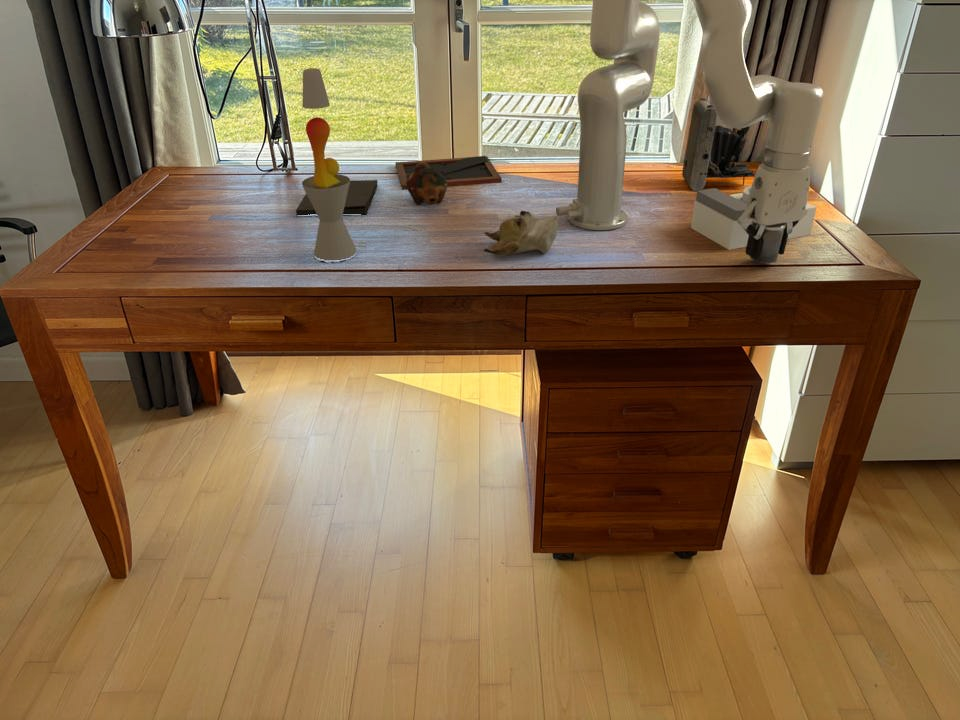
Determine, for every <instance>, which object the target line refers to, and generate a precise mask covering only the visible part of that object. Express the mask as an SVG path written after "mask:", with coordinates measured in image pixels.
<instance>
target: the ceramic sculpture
mask: <svg viewBox="0 0 960 720" xmlns="http://www.w3.org/2000/svg"><path fill="white" fill-rule="evenodd" d="M559 220H560V216H557V215H556V216H551V217H547V218H544V219H538V218H536V216H535V215H534V213H531V212H530V211H526V210H521V211H520V213H519V215H509V216H507V217H506V218H505V219H503V220H502V222H501V223H500V225H499V229H498V230H497V231H495V232H490V231H485V232H484V233H483V234H484V235H485V236H486V237H488V238H490V239H491V240H494V241H496V242H493V243H492V245H490V246H489V247H487V248H483V252H484V253H488V254H492V255H495V256H503V257H504V256H507V255H510V254H519V253H520V254H521V253H525V252H528V251H533V250H534V251H535V250H539V251H540V252H541V253H542V254H543V253H544V254H547V253H549V251H550V250H551V248H552V247H553V243H554V241H555V240H556V238H557V235H558V228H559Z"/></svg>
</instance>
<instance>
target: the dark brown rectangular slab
mask: <svg viewBox="0 0 960 720" xmlns="http://www.w3.org/2000/svg"><path fill="white" fill-rule="evenodd" d="M377 189H378V180H377V179H373V180H372V179H368V180H367V179H365V180H363V179H362V180H359V179H358V180H355V179H354V180H351V179H350V184H349V188H348V193H347V197H346V202H345V206H344V211H343V214H361V215H366V214H367V215H368V212H369V210H368V209H370V207H369V206H371V204H372V202H373V199H374V197H375V193H376V192H377ZM375 191H376V192H375ZM373 196H374V197H373ZM367 211H368V212H367ZM295 213H296V216H297V215H308V214H309V215H310V214H317V213H316V211H315V209H314V207H313V205H312V203H311V201H310V200H309V198H308V196H307V194H306V193H305V195H304V196H303V198H302V199H301V201H300V202H299V204H298V206H297V208H296V209H295ZM367 215H366V216H367Z"/></svg>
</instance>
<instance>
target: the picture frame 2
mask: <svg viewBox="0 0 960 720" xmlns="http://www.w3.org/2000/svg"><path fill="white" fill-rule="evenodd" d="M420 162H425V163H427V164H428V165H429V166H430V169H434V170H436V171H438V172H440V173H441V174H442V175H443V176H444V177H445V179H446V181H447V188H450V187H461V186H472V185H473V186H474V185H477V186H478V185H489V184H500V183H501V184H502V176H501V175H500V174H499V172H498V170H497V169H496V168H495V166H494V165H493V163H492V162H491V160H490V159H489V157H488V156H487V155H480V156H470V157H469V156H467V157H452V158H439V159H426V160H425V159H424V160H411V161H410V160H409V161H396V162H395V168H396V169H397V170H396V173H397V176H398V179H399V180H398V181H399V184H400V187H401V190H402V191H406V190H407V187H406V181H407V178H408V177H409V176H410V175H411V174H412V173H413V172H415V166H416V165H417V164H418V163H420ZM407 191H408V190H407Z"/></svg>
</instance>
